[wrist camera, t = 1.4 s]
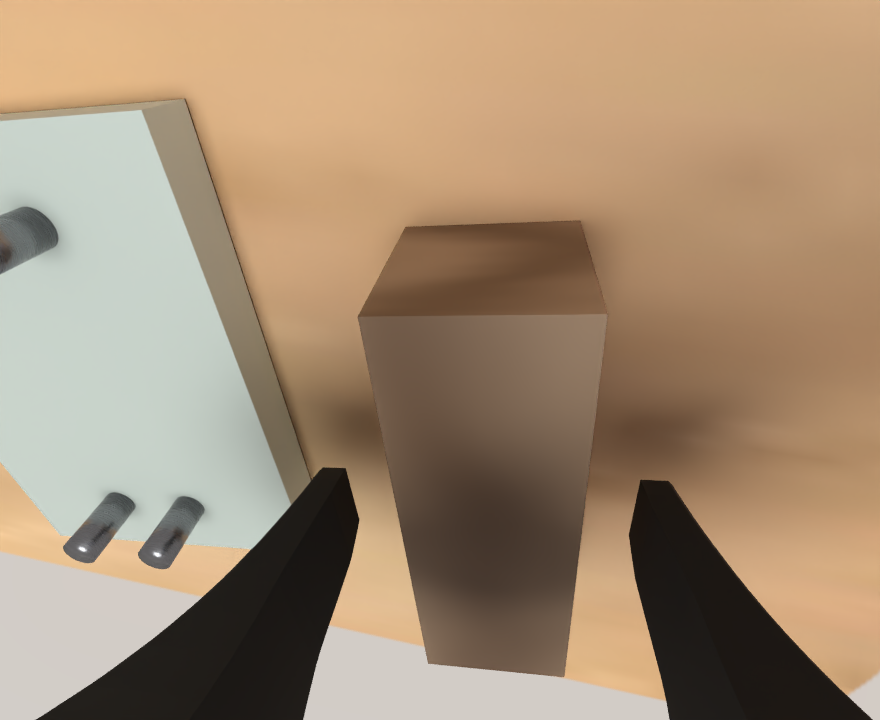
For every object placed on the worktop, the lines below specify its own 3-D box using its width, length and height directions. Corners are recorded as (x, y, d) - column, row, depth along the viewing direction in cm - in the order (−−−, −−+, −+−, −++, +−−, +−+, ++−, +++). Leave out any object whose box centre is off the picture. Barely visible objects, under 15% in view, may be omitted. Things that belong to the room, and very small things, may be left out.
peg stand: (184, 99, 11) (63, 130, 8) (323, 517, 19) (287, 609, 16) (-185, 128, 12) (-398, 163, 9) (88, 503, 20) (17, 584, 17)
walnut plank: (579, 217, 11) (607, 313, 8) (555, 542, 18) (564, 677, 14) (407, 223, 12) (357, 316, 8) (446, 536, 19) (428, 663, 15)
